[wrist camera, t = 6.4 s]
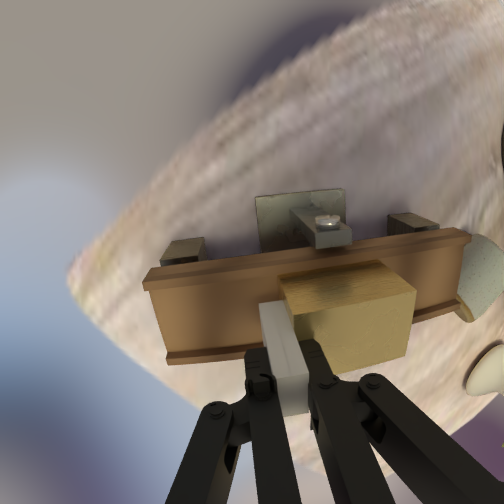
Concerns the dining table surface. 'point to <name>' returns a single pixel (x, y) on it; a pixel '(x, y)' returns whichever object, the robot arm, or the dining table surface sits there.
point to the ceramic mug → (479, 277)
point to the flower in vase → (488, 374)
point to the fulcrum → (298, 225)
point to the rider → (350, 312)
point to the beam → (266, 290)
